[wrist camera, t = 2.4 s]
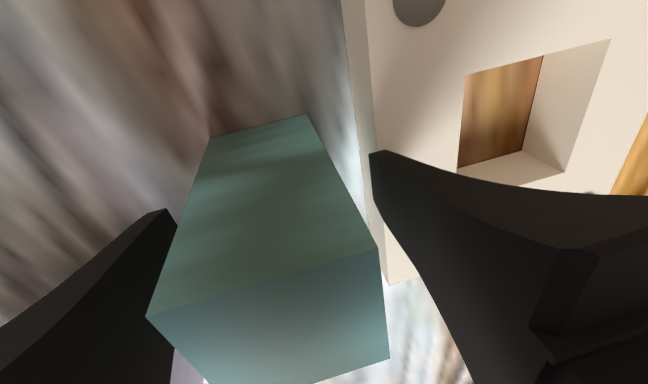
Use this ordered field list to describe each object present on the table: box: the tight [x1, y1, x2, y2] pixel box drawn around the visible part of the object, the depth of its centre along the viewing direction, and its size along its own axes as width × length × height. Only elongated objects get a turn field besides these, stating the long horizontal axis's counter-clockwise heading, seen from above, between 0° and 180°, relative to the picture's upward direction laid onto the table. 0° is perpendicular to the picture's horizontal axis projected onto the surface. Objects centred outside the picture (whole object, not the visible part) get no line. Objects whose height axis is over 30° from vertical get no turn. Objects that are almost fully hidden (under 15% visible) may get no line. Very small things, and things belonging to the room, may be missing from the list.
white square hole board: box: [340, 0, 648, 286], centre depth 12 cm, size 12×14×3 cm
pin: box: [145, 114, 390, 384], centre depth 9 cm, size 4×4×8 cm
